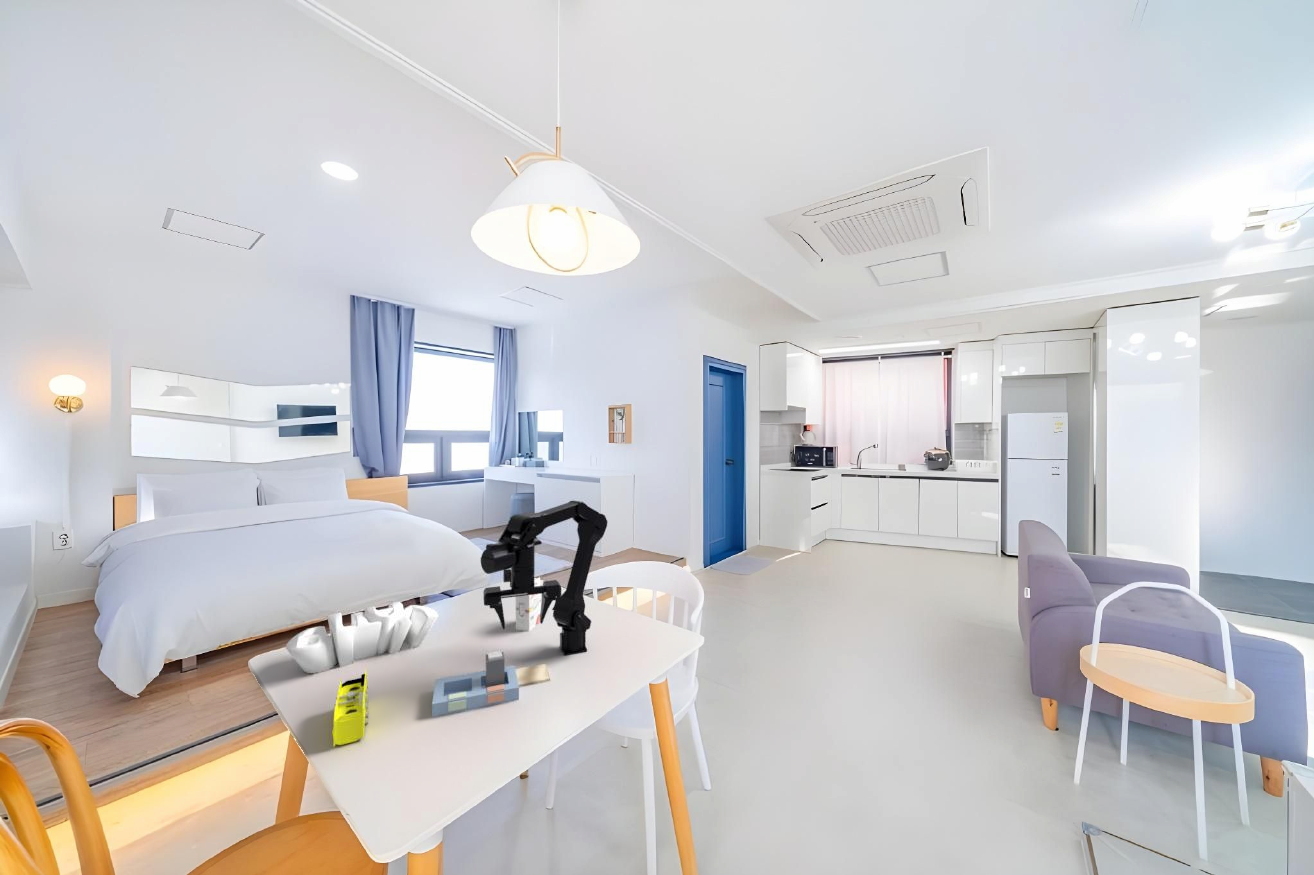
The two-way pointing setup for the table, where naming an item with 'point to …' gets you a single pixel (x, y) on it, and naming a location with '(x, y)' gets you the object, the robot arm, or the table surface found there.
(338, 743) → the yellow toy chassis
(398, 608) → the wavy white extrusion
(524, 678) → the coaster
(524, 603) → the ink cartridge box
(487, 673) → the plug
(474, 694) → the dock
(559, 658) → the table surface
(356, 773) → the table surface
